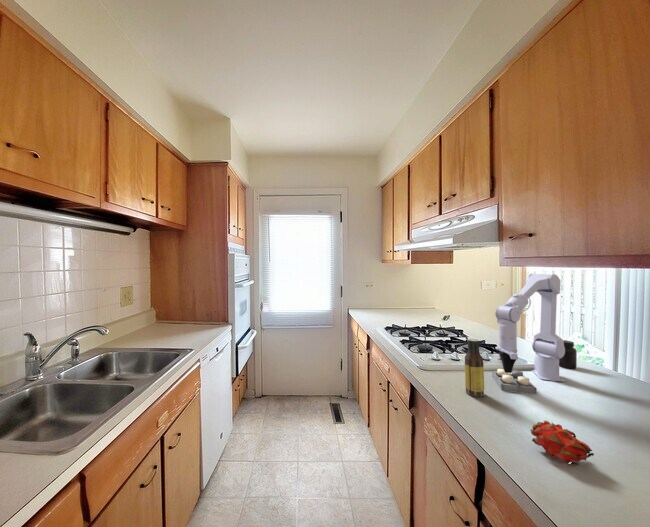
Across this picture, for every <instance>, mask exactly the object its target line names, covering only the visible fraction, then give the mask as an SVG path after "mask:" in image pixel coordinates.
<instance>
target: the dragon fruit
mask: <svg viewBox="0 0 650 527" xmlns="http://www.w3.org/2000/svg"><path fill="white" fill-rule="evenodd" d="M529 431H530V434H531V435H532V436H534V437H533V438H532V440H531V441H532V442H533V443H534V444H535V445H536V446H538V447H539V446H541V447H542V448H543V449H544V451H545V453H546V454H548V455H549V457H550V459H551V460H554V459H555V458H558V459H559V460H561V461H563V462H564V463H567V464H568V463H569V462H570V461H571V462H572V463H571V465H570V466H580V463H578V462H580V461H587V459H588V458H590V457H592V456H593V457H594V455H595V454H594V452H593V449H591V447H590V446H589V445H588V444H587V443H586V442H584V441H582V440H580V439H578V438H577V435H576V434H575V433H574V431H570V430H569V429H568V428H564V429H563V426H562V425H561V424H559V423H557V424H554V422H549V421H548V420H543V421H541V422H540V421H538V422H537V423H535V424H533V425H532V428H531V429H530V430H529Z"/></svg>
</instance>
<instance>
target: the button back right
mask: <svg viewBox="0 0 650 527" xmlns="http://www.w3.org/2000/svg"><path fill="white" fill-rule="evenodd" d="M496 372H497V375H499V376H501V377H502V375H508V373H506V372H505V371H504V369H503V368H497V370H496Z"/></svg>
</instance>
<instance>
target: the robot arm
mask: <svg viewBox="0 0 650 527" xmlns="http://www.w3.org/2000/svg"><path fill="white" fill-rule="evenodd" d="M535 293H538V294H539V295H540V297H541V298H540V300H541V301H540V324H539V326H540V329H539V332H538V333H536V334H534V335H533V338H532V342H531V348H532V350H533V352H535V356H534V358H533V360H534V369H532V370H531V372H532V373H533V374H534V375H535V376H536V377H538V379H539V380H542V381H544V380H545V381H552V382H562V383H563V382H565V379H563V378H561V377H560V366H559V359H560V358H562V357H563V356H564V354H565V347H564V341H563V340H564V339H563V338H561V337H560V336H559V335H558V334H557V330H556V328H557V306H558V305H557V303H558V301H557V299H558V297H557V296H558V295H560V294H561V279H560V277H559V276H558V275H557V274H555V273H553V274H550V273H549V274H547V273H546V274H543V273H542V274H541V273H529V274H528V275H527V277H526V278H525V285H524V286H523V287H522V289H521V290H520V292H519V293H514V294H513V295H511V297H510V298H509V299H508V300H507V301H506V302H505V303H504V304H503V305H499V306H498V307H497V308H496V309H495V312H494V314H495V318H496V321H497V324H498V346H495V350H497V351H498V352H497V353H498V356H499V357H500V360H501V364H502V369H504V371H505V372H506V373H509V374H512V370H514V369H513V368H514V366H515V363H516V361H517V360H518V359H519V357H518V349H517V348H518V347H517V346H518V345H517V343H518V342H517V340H518V339H517V337H518V336H517V335H518V334H517V333H518V332H517V330H518V328H517V326H518V325H517V324H518V323H517V322H519V321H520V320H521V315H522V313H523V312H522V311H523V310H524V309H525V308H526V307H527V306H528V304H529V299H530V298H531V297H532V295H534V294H535Z"/></svg>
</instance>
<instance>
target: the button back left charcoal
mask: <svg viewBox="0 0 650 527" xmlns="http://www.w3.org/2000/svg"><path fill="white" fill-rule="evenodd" d="M511 374H512V376H513V377H514V378H518V376H523V375H524V372H523V371H520V370H516V369H512V372H511Z"/></svg>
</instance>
